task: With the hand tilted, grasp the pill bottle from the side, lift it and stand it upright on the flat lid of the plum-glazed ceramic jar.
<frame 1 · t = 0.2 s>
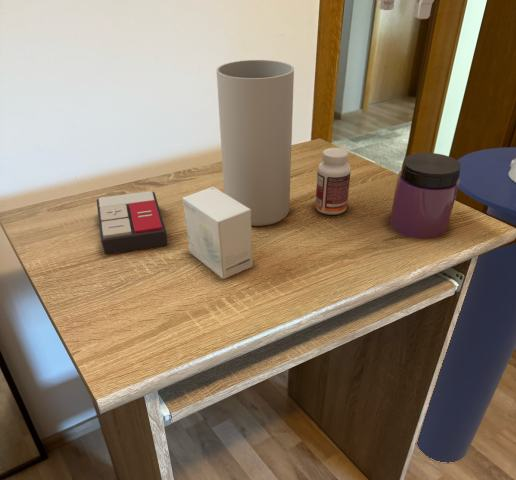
hand: (402, 13, 72), 32 cm above the table, tool pointing down, fingers open, 8 cm apart
pill bottle: (330, 209, 96), on the table
jar lid: (431, 165, 83), point 11 cm above the table, screwed on, not yet turned
cylinder vase: (257, 213, 95), on the table
cosmetics box: (220, 261, 82), on the table
calculator: (133, 231, 90), on the table
jar: (417, 224, 91), on the table
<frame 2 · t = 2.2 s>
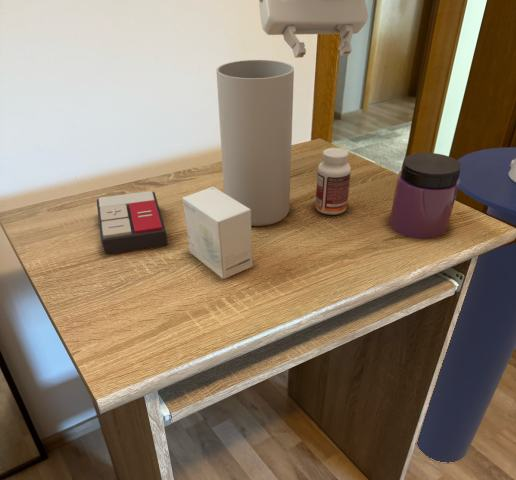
hand: (323, 55, 87), 25 cm above the table, tool tilted 40°, fingers open, 8 cm apart
nothing on the table moved.
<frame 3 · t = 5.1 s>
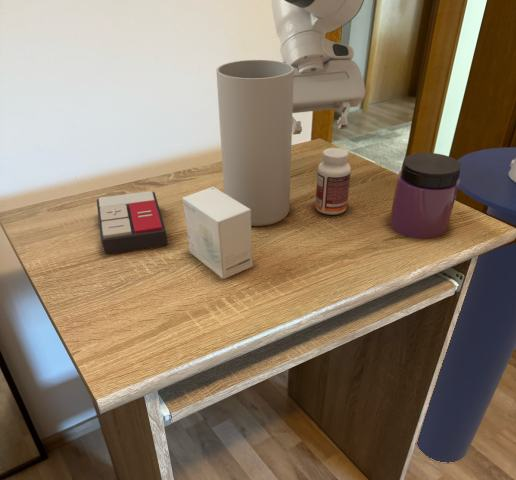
hand: (320, 130, 93), 12 cm above the table, tool tilted 45°, fingers open, 8 cm apart
nothing on the table moved.
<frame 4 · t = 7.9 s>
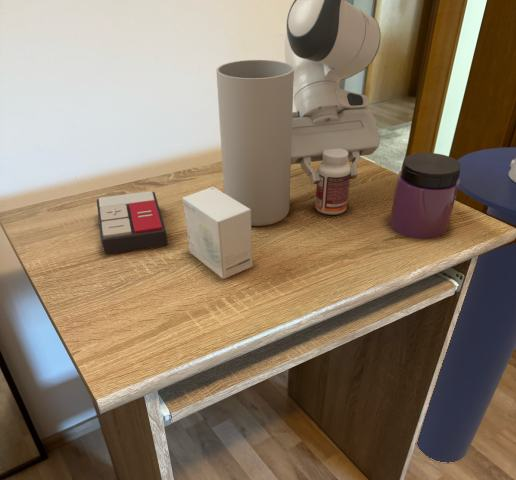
hand: (334, 180, 91), 6 cm above the table, tool tilted 45°, fingers closed on pill bottle, 6 cm apart
pill bottle: (330, 209, 96), on the table, touching gripper
everything else where it was.
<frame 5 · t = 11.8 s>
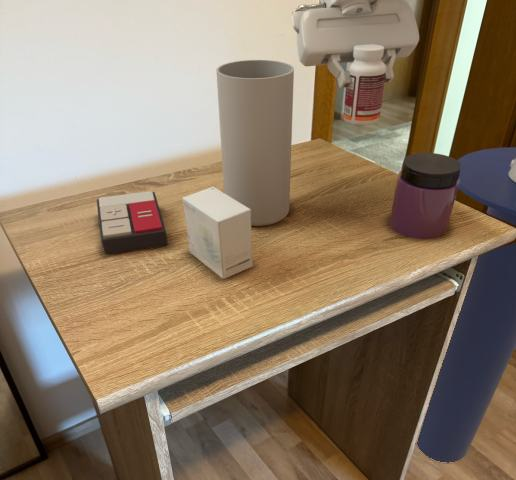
hand: (367, 83, 79), 23 cm above the table, tool tilted 45°, fingers closed on pill bottle, 6 cm apart
pill bottle: (360, 121, 84), point 17 cm above the table, touching gripper
everything else where it was.
when the fingers open (17 cm above the table, at t = 16.0 s): pill bottle stays where it is, resting on jar lid.
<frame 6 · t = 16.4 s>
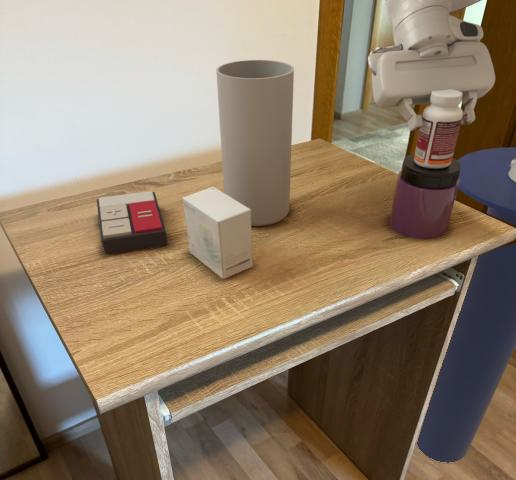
hand: (443, 125, 78), 18 cm above the table, tool tilted 45°, fingers open, 8 cm apart
pill bottle: (431, 164, 83), point 11 cm above the table, touching jar lid
jar lid: (431, 165, 83), point 11 cm above the table, screwed on, not yet turned, touching pill bottle
everything else where it was.
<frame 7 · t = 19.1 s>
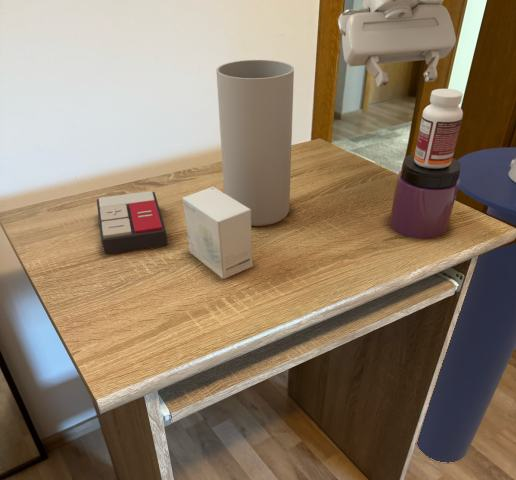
hand: (407, 82, 85), 21 cm above the table, tool tilted 45°, fingers open, 8 cm apart
nothing on the table moved.
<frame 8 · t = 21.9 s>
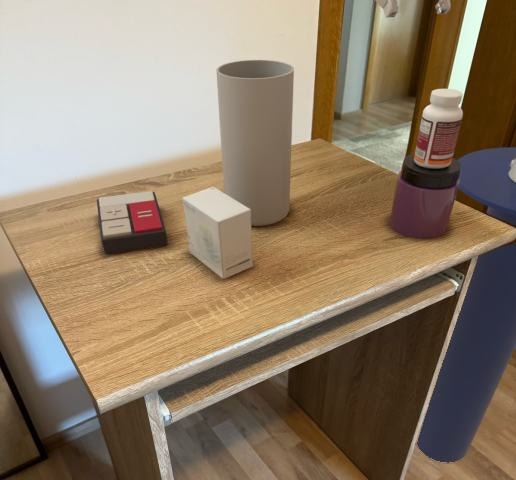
hand: (418, 13, 79), 31 cm above the table, tool tilted 45°, fingers open, 8 cm apart
nothing on the table moved.
at the end: pill bottle 0.0 cm off-centre on the jar, point 11.4 cm above the jar's base; pill bottle tilted 0° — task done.
